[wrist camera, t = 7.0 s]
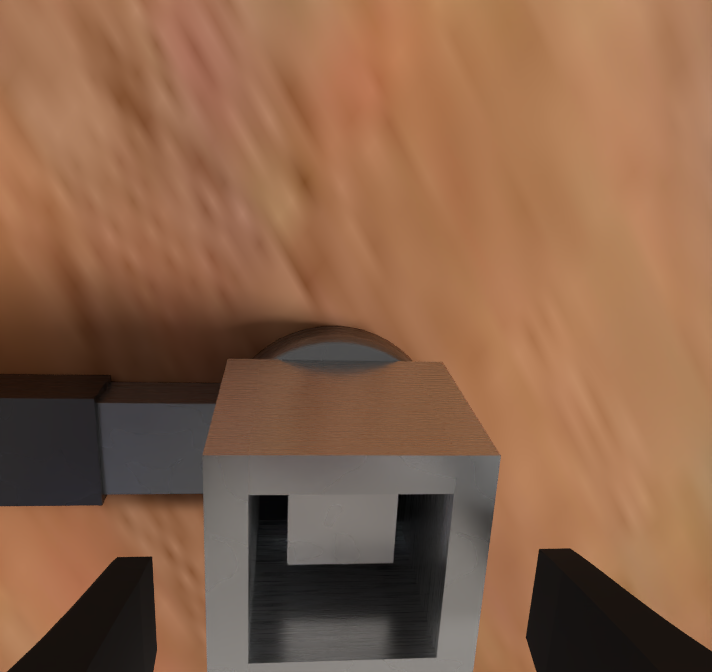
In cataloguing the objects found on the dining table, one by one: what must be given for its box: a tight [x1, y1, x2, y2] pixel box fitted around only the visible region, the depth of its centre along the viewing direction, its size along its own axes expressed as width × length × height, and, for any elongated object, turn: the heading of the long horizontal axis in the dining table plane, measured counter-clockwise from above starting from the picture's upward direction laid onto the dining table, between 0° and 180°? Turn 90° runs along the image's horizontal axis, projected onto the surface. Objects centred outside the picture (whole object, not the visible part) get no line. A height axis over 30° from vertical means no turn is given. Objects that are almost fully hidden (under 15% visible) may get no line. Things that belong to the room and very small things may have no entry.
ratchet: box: [0, 326, 412, 565], centre depth 17 cm, size 14×6×5 cm, turn 87°
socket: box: [202, 359, 501, 672], centre depth 15 cm, size 5×5×5 cm
